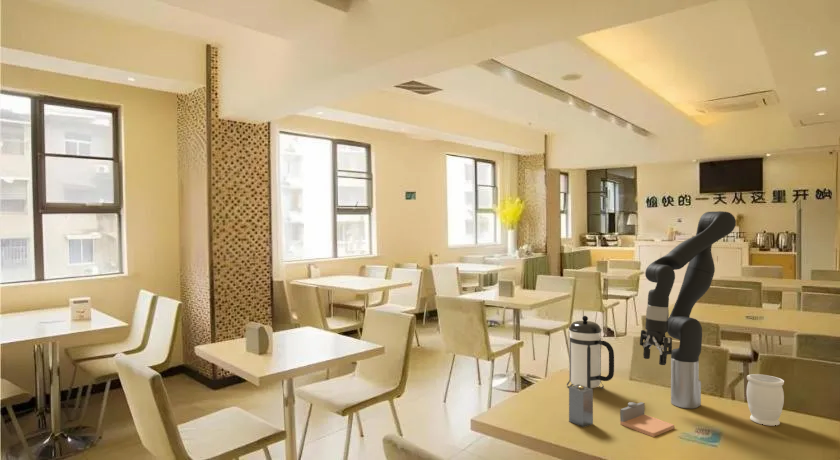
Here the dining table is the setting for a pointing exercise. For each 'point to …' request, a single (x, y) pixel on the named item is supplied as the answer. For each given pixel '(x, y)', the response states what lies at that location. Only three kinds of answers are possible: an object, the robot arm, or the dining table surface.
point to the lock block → (581, 405)
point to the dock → (642, 420)
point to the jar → (765, 398)
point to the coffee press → (587, 354)
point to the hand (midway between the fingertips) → (654, 361)
